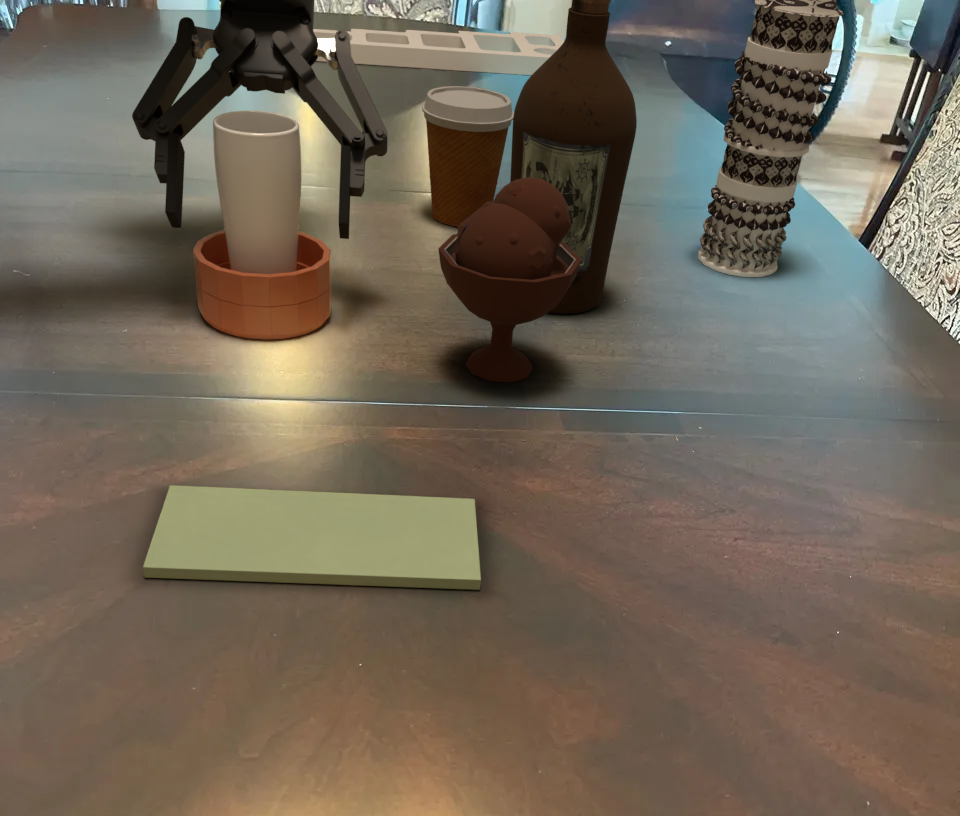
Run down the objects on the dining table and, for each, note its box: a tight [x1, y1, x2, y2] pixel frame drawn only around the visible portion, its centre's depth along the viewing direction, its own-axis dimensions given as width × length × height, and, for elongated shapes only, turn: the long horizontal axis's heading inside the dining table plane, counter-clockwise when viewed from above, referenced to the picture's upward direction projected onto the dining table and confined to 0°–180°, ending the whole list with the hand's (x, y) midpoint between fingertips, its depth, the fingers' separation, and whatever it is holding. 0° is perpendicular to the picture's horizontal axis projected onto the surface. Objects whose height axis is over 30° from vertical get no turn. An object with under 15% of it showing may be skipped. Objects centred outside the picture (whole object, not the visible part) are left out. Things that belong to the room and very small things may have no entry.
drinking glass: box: [212, 110, 302, 274], centre depth 87 cm, size 7×7×15 cm
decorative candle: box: [697, 0, 845, 278], centre depth 103 cm, size 9×9×25 cm
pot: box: [192, 229, 332, 340], centre depth 90 cm, size 11×11×6 cm
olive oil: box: [509, 0, 638, 315], centre depth 92 cm, size 11×11×25 cm
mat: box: [142, 484, 482, 591], centre depth 66 cm, size 20×9×1 cm, turn 93°
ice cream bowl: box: [437, 177, 581, 383], centre depth 83 cm, size 11×11×15 cm
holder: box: [313, 28, 565, 76], centre depth 172 cm, size 45×18×3 cm, turn 96°
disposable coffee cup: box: [421, 85, 514, 227], centre depth 111 cm, size 10×10×12 cm
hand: (259, 226), depth 85 cm, fingers open, 13 cm apart
